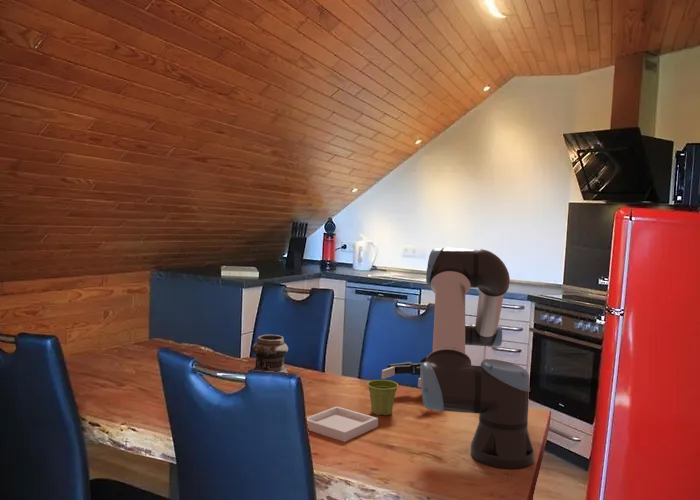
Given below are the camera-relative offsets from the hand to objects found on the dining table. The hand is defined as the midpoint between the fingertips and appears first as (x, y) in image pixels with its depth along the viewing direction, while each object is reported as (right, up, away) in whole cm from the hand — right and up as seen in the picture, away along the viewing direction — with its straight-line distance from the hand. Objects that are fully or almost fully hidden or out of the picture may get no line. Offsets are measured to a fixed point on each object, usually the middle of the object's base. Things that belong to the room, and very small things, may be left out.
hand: (400, 378), depth 183 cm
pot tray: (-19, -9, -21) cm, 30 cm away
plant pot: (-6, -9, -8) cm, 13 cm away
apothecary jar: (-43, -7, +12) cm, 45 cm away
